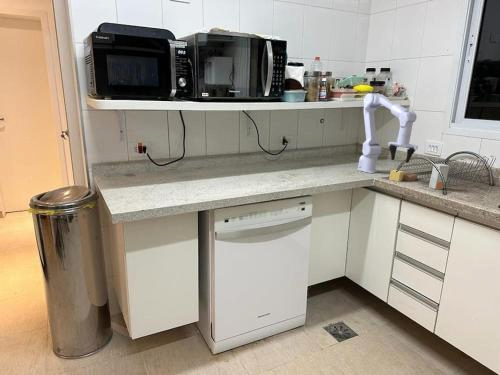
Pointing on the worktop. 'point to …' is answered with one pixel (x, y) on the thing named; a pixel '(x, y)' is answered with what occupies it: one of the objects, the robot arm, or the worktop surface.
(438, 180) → the skincare box
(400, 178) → the block
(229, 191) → the worktop surface
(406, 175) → the trivet
